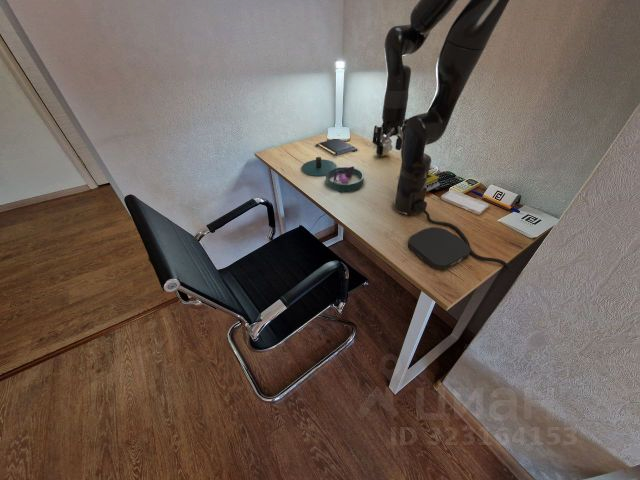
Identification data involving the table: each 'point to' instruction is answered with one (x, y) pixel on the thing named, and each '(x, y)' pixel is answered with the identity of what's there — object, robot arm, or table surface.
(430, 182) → the emergency button
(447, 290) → the table surface
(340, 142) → the dark notebook
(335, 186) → the tin
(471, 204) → the phone case
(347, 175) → the purple monster toy
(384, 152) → the ghost figurine
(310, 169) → the tin lid
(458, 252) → the media streaming box
